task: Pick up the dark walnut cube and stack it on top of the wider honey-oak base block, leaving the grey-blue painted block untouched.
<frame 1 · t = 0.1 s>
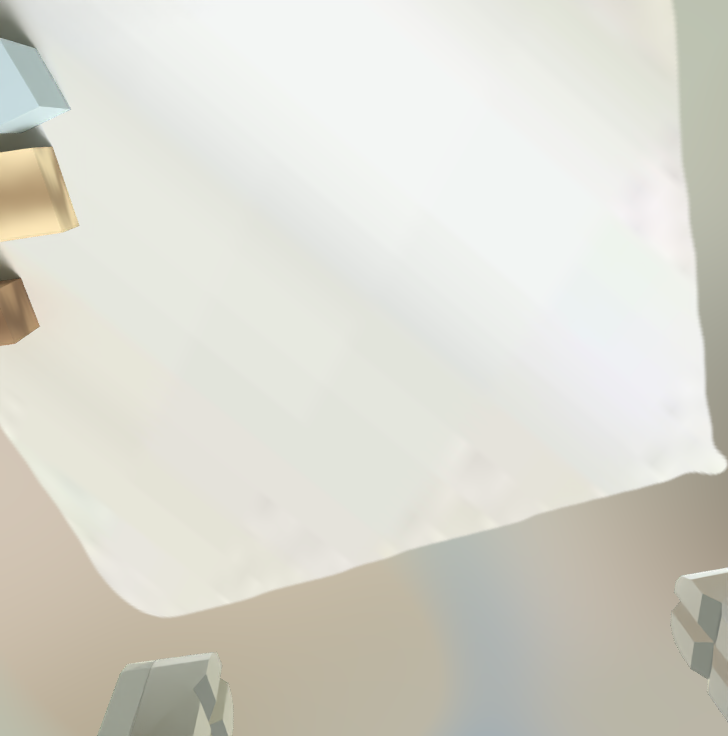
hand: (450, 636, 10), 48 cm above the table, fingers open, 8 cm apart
grey-blue block: (28, 91, 47), on the table
walnut block: (5, 306, 54), on the table
oak base block: (29, 192, 50), on the table
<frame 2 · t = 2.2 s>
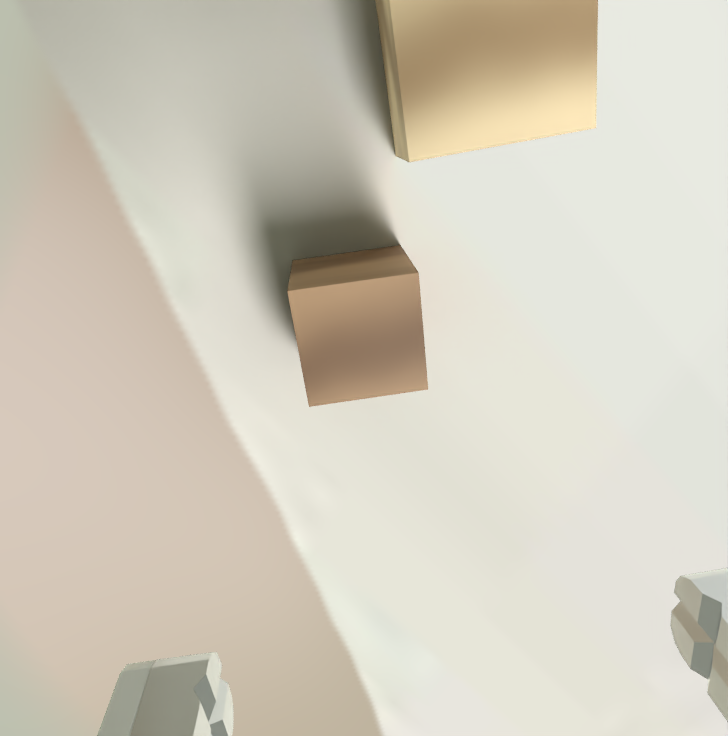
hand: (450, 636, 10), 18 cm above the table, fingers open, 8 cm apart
walnut block: (353, 303, 26), on the table
oak base block: (467, 49, 22), on the table
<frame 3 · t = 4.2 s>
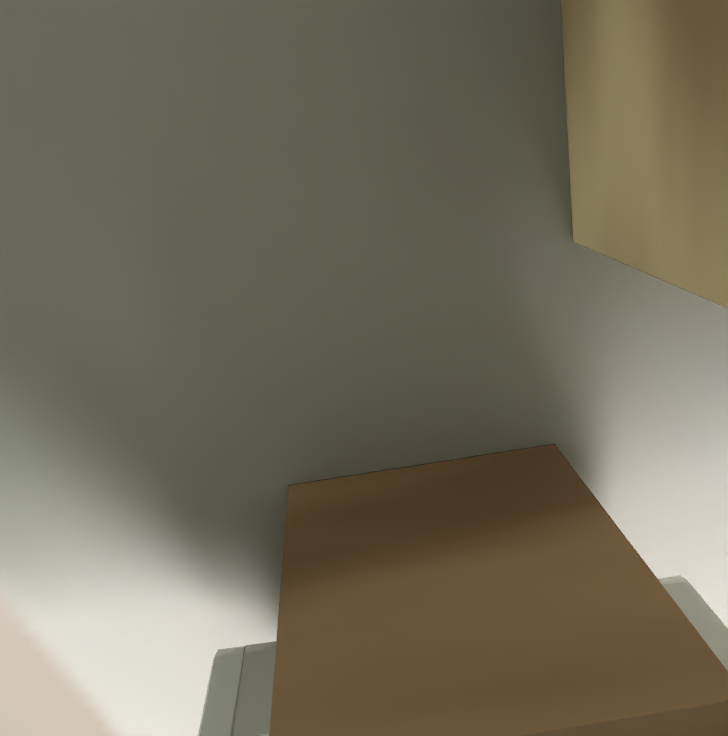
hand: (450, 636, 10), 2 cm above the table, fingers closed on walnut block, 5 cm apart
walnut block: (432, 567, 11), on the table, touching gripper
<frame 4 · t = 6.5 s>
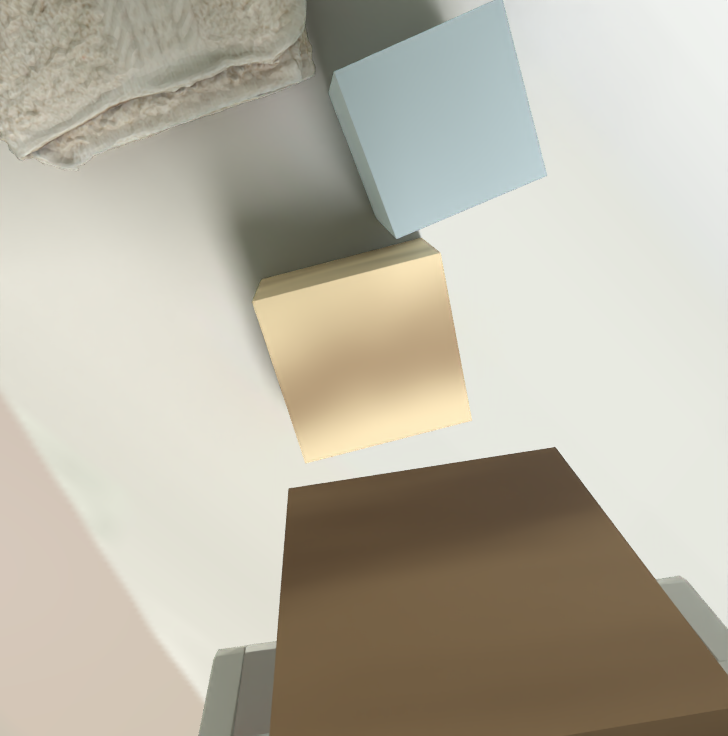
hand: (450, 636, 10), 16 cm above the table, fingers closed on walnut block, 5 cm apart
grey-blue block: (411, 132, 22), on the table
walnut block: (433, 570, 11), point 15 cm above the table, touching gripper
oak base block: (360, 333, 25), on the table
when the fingers open (7 cm above the table, at t = 8.9 s): walnut block drops 2 cm, resting on oak base block.
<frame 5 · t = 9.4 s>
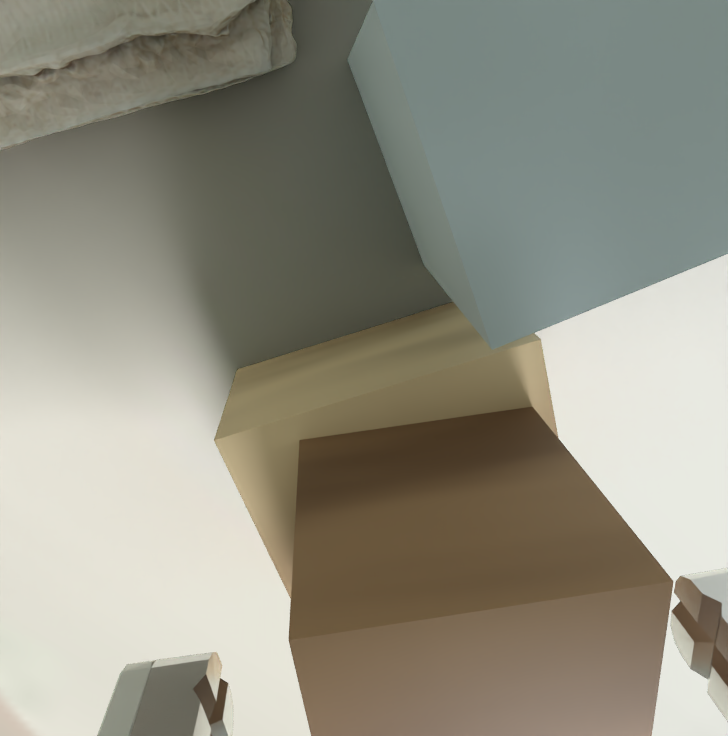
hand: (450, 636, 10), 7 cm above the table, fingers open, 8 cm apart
grey-blue block: (486, 126, 13), on the table
walnut block: (425, 517, 13), point 4 cm above the table, touching oak base block
oak base block: (394, 433, 16), on the table, touching walnut block
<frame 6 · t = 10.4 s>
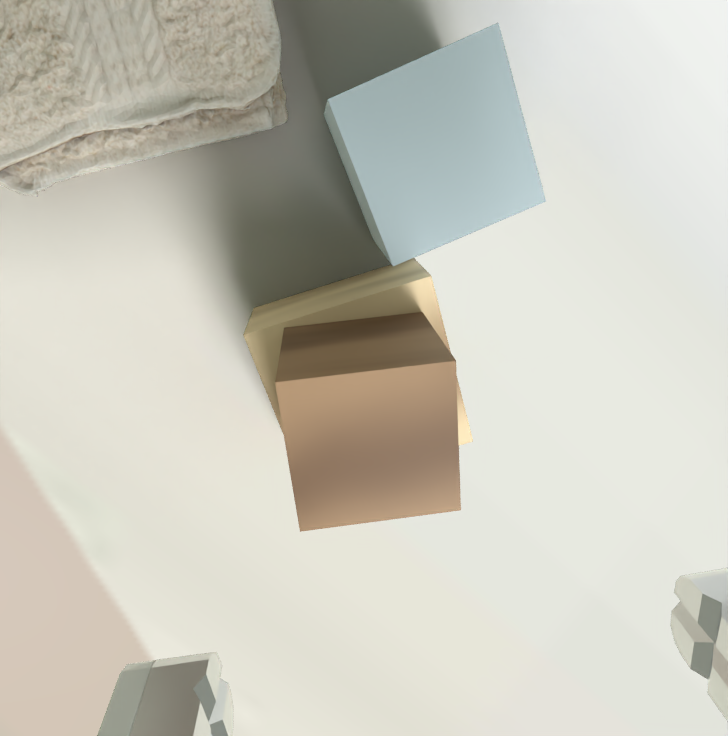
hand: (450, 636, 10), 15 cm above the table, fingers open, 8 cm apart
grey-blue block: (408, 153, 21), on the table
walnut block: (360, 383, 21), point 4 cm above the table
oak base block: (357, 355, 24), on the table
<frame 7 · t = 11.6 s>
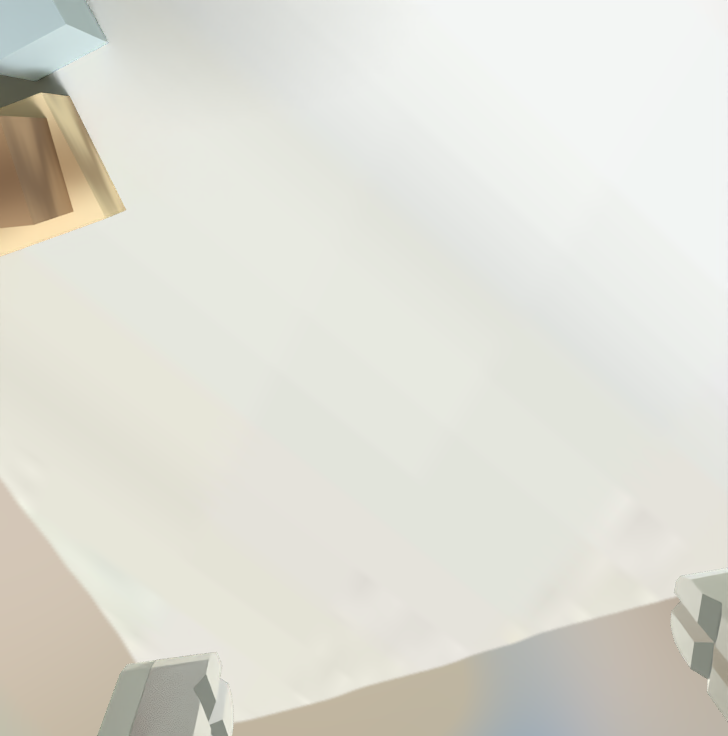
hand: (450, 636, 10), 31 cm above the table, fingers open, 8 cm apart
grey-blue block: (45, 16, 31), on the table
walnut block: (15, 170, 31), point 4 cm above the table, touching oak base block
oak base block: (49, 173, 35), on the table, touching walnut block
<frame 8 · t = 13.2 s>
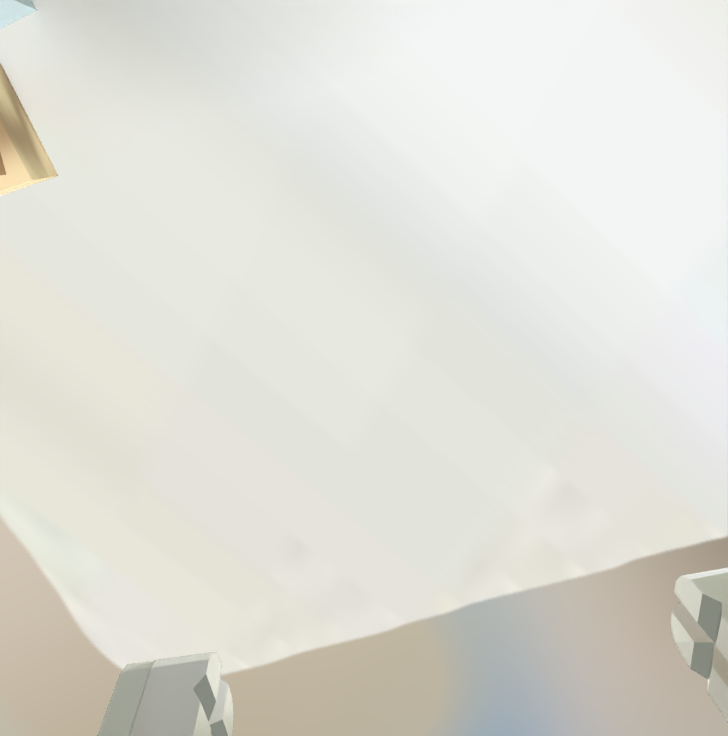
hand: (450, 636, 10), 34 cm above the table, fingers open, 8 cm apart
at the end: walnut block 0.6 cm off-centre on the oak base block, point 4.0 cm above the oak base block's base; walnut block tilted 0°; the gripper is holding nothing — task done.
